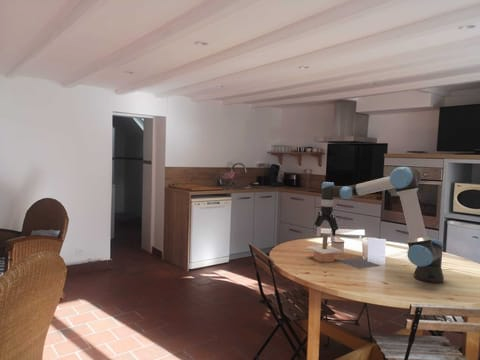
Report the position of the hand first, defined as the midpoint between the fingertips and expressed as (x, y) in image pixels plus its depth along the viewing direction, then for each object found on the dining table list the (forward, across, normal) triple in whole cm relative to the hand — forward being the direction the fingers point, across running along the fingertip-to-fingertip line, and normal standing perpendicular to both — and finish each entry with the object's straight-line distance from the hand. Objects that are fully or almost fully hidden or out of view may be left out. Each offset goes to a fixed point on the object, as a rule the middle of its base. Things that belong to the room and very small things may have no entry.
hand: (325, 238), depth 237 cm
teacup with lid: (+14, +12, -20) cm, 28 cm away
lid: (+8, 0, 0) cm, 8 cm away
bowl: (+14, 0, 0) cm, 14 cm away
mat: (+14, -15, -16) cm, 26 cm away
